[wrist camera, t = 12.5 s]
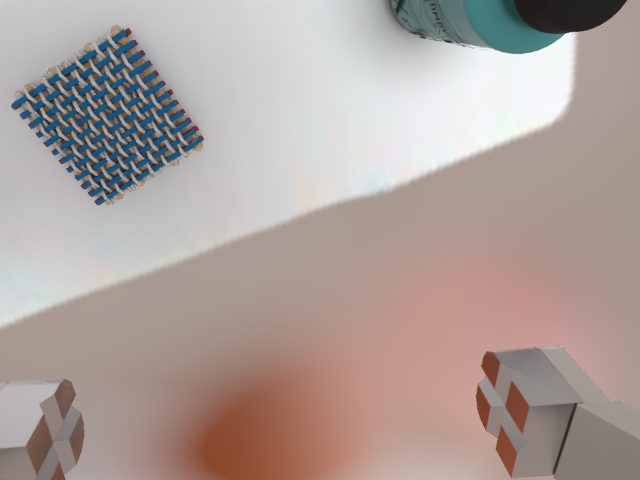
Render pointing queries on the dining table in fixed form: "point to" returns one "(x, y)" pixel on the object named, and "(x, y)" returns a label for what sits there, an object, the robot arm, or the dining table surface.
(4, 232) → the dining table surface
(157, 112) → the woven mat
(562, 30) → the beverage bottle
